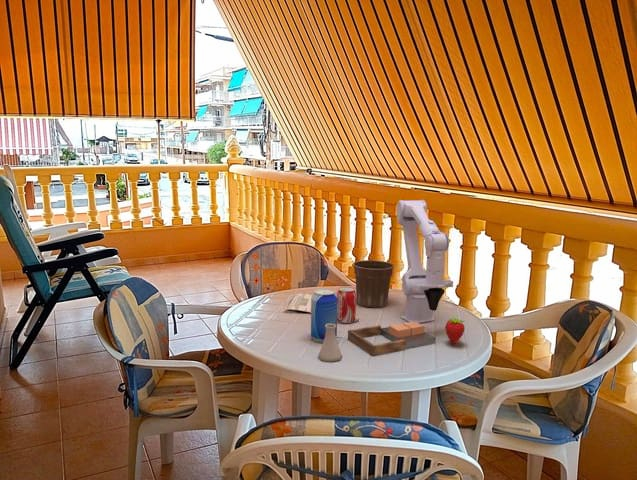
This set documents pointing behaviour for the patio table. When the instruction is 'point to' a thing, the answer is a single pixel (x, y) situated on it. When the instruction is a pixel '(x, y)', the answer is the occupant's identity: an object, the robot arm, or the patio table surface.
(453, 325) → the strawberry
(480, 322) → the patio table surface
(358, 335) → the box
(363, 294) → the plant pot
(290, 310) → the newspaper
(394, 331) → the tile
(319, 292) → the beer can
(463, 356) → the patio table surface
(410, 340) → the grey plate
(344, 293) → the soda can
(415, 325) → the tile
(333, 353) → the flask
